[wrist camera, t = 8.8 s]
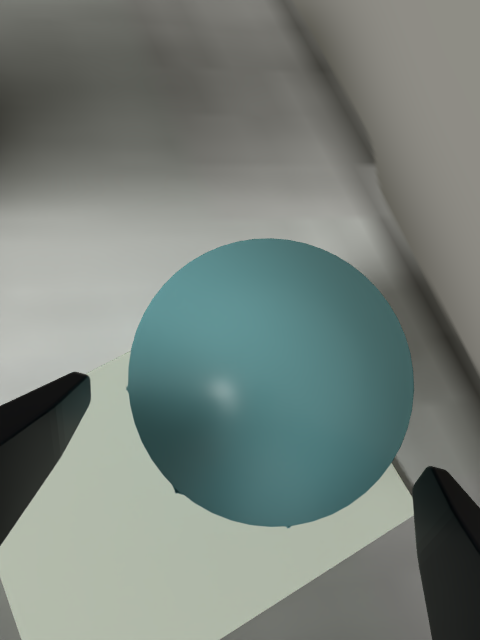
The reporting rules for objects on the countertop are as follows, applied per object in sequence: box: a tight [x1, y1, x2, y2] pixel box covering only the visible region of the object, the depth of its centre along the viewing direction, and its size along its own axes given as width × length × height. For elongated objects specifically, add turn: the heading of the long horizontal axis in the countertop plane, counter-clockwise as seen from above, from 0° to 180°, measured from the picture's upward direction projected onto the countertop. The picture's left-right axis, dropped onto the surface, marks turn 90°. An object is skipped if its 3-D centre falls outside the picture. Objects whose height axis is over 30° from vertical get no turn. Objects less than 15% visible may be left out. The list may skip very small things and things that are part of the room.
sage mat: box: [0, 351, 414, 640], centre depth 18 cm, size 19×14×1 cm
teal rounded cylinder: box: [126, 238, 414, 529], centre depth 14 cm, size 7×7×11 cm
